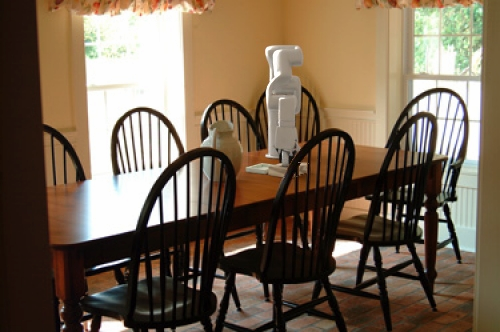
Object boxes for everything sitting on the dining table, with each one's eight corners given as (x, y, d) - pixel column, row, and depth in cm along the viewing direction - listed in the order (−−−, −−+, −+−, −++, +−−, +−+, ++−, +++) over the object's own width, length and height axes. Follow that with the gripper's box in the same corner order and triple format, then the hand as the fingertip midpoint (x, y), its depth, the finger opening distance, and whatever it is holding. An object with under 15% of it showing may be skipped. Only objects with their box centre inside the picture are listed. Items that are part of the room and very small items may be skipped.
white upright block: (285, 173, 345) (285, 149, 343) (293, 174, 343) (293, 150, 340) (280, 174, 342) (280, 151, 340) (287, 175, 339) (288, 152, 337)
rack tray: (261, 167, 360) (261, 163, 359) (280, 169, 353) (280, 165, 353) (245, 171, 349) (245, 167, 349) (264, 174, 343) (264, 170, 342)
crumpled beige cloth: (287, 169, 354) (287, 161, 353) (309, 172, 346) (309, 164, 346) (268, 175, 341) (268, 166, 340) (290, 178, 334) (290, 169, 333)
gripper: (266, 123, 340) (266, 162, 343) (298, 126, 330) (297, 166, 333) (276, 121, 346) (276, 160, 349) (307, 124, 336) (306, 164, 339)
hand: (286, 162), depth 341 cm, fingers open, 4 cm apart
